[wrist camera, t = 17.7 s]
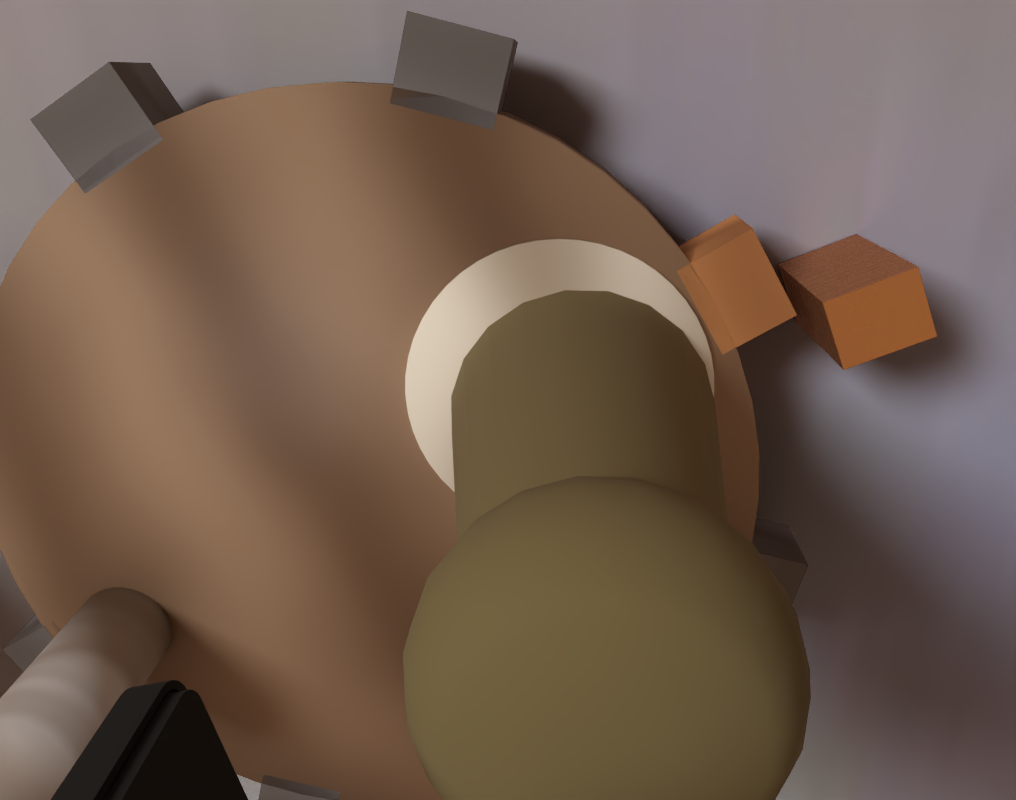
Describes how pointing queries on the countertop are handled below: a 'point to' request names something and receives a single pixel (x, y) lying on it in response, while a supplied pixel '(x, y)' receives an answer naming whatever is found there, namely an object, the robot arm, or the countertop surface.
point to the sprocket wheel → (296, 393)
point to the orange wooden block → (858, 300)
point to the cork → (598, 579)
